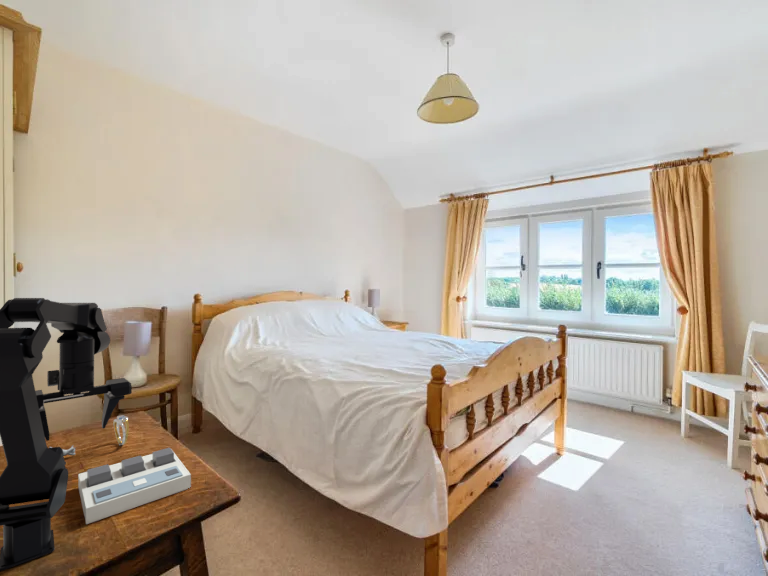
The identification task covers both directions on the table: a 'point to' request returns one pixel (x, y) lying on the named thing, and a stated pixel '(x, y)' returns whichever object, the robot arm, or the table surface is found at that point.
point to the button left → (98, 475)
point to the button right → (163, 457)
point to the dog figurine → (68, 451)
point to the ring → (116, 429)
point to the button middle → (132, 466)
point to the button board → (131, 488)
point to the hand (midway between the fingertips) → (76, 433)
